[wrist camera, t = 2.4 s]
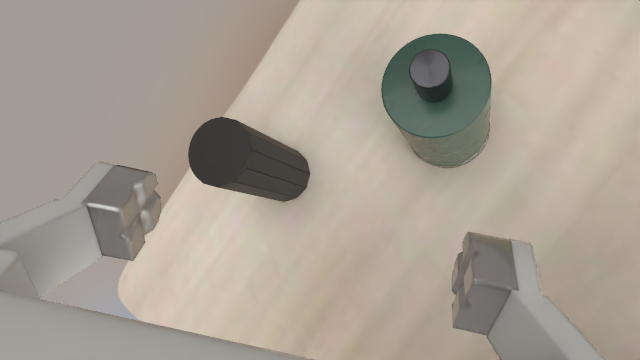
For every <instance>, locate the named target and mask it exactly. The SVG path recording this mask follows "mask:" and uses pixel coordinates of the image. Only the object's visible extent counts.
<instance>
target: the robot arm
mask: <svg viewBox="0 0 640 360" xmlns="http://www.w3.org/2000/svg"><path fill="white" fill-rule="evenodd" d="M157 185H158V182H157V178H156V174H154V173H152V172H148V171H143V170H139V169H135V168H130V167H125V166H120V165H113V164H109V163H105V162H97V163H95V164H94V165H93V166H92V167H91V168H90V169H89V170H88V171H87V172H86V174H85V175H84V176H83V177H82V178H81V179H80V180H79V181H78V182H77V183H76V184H75V186H74V187H73V188H72V189H71V190H70V191H69V192H68V194H66V196H65V197H64V198H63V199H62V200H58V199H55V200H53V201H50V202H48V203H46V204H43V205H41V206H38V207H36V208H34V209H31V210H29V211H26V212H24V213H22V214H19V215H17V216H14V217H12V218H10V219H7V220H5V221H3V222H0V360H314V359H310V358H305V357H300V356H296V355H291V354H287V353H282V352H278V351H273V350H269V349H264V348H260V347H255V346H251V345H246V344H242V343H237V342H232V341H228V340H223V339H219V338H214V337H210V336H205V335H201V334H196V333H192V332H187V331H183V330H178V329H174V328H169V327H164V326H160V325H155V324H151V323H146V322H142V321H137V320H133V319H128V318H123V317H119V316H114V315H110V314H105V313H101V312H96V311H91V310H87V309H82V308H78V307H74V306H69V305H64V304H60V303H55V302H51V301H46V300H42V299H40V298H41V297H42V296H43V295H45V294H47V293H48V292H50V291H51V290H53V289H54V288H56V287H57V286H59V285H60V284H62V283H64V282H65V281H66V280H68V279H70V278H71V277H73V276H74V275H76V274H77V273H79V272H80V271H82V270H84V269H85V268H87V267H88V266H90V265H91V264H93V263H94V262H96V261H97V260H99V259H100V258H102V255H104V256H109V257H114V258H120V259H125V260H131V261H134V259H135V258H136V256H137V255H138V253H139V251H140V250H141V248H142V247H143V245H144V244H145V239H144V235H145V234H147V233H149V232H151V231H153V229H154V228H155V226H156V224H157V223H158V220H159V217H160V214H161V198H160V196H159V195H158V194H157V193H156V191H155V190H154V189H155V188H156V186H157ZM462 243H463V252H461V253H459V254H458V255H457V258H456V261H455V264H454V269H453V273H452V291H453V293H454V294H455V295H456V296H455V299H454V301H453V304H452V321H453V328H457V329H462V330H466V331H470V332H474V333H479V334H483V335H487V338H488V340H489V341H490V343H491V345H492V346H493V348H494V350H495V351H496V353H497V355H498V356H499V358H500V360H605V359H604V358H603V356H602V355H601V354H600V353H599V352H598V351H597V350H596V349H595V348H594V346H593V345H592V344H591V343H590V342H589V341H588V340H587V339H586V338H585V337H584V335H583V334H582V333H581V332H580V331H579V330H578V329H577V328H576V327H575V325H574V324H573V323H572V322H571V321H570V320H569V319H568V318H567V317H566V315H565V314H564V313H563V312H562V311H561V310H560V309H559V308H558V307H557V306H556V304H555V303H554V302H553V301H552V300H551V299H550V298H549V297H547V296H542V291H541V286H540V281H539V276H538V271H537V266H536V261H535V256H534V251H533V246H532V245H531V243H529V242H523V241H518V240H512V239H509V240H508V239H505V238H500V237H494V236H489V235H483V234H478V233H472V232H467V234H466V235H465V237H464V240H463V242H462Z"/></svg>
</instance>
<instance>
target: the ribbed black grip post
mask: <svg viewBox="0 0 640 360" xmlns="http://www.w3.org/2000/svg"><path fill="white" fill-rule="evenodd" d="M188 155H189V163H190V167H191V169H192V171H193V173H194V174H195V176H196V177H197V178H198V179H199V180H200V181H201V182H202V183H204V184H208V185H211V186H215V187H219V188H223V189H228V190H233V191H237V192H242V193H246V194H251V195H256V196H260V197H265V198H270V199H274V200H279V201H288V200H291V199H294V198H296V197H298V196H299V195H300V194H301V193H302V192H303V191H304V189H305V188H306V187H307V183H308V179H309V176H310V172H309V168H308V164H307V161H306V159H305V158H304V157H303V156H302V155H301V154H300V153H299V152H298V151H296V150H294V149H292V148H290V147H288V146H286V145H284V144H282V143H280V142H278V141H276V140H274V139H272V138H271V137H269V136H267V135H265V134H263V133H261V132H259V131H257V130H255V129H253V128H251V127H249V126H247V125H245V124H243V123H241V122H239V121H237V120H233V119H229V118H224V117H220V118H215V119H212V120H209V121H207V122H206V123H204V124H203V125H202V126H201V127H200V128H199V129H198V130H197V131H196V132H195V134H194V136H193V138H192V140H191V142H190V147H189V154H188Z"/></svg>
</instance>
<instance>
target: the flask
mask: <svg viewBox="0 0 640 360" xmlns="http://www.w3.org/2000/svg"><path fill="white" fill-rule="evenodd" d="M381 91H382V99H383V104H384V106H385V109H386V111H387V113H388V115H389V116H390V118H391V119H392V120H393V122H394V123H395V125H396V126H397V127H398V129H399V130H400V131H401V133H402V134H403V136H404V137H405V138H406V140H407V141H408V142H409V144H410V145H411V147H412V149H413V150H414V152H415V153H416V154H417V155H418V156H419V157H420V158H421V159H422V160H423V161H425V162H427V163H428V164H430V165H433V166H436V167H441V168H454V167H458V166H461V165H464V164H466V163H468V162H470V161H471V160H473V159H474V158H475V157H476V156H478V155H479V153H480V152H481V151H482V150H483V148H484V147H485V145H486V142H487V140H488V137H489V130H490V122H489V119H490V100H491V73H490V69H489V66H488V63H487V61H486V59H485V58H484V56H483V54H482V53H481V52H480V51H479V50H478V49H477V48H476V47H475V46H474V45H473V44H471V43H470V42H468V41H467V40H465V39H463V38H460V37H457V36H454V35H449V34H432V35H426V36H423V37H420V38H418V39H415V40H413V41H411V42H410V43H408V44H406V45H405V46H404V47H402V48H401V49H400V50H399V51H398V52H397V53H396V54H395V55H394V57H393V58H392V59H391V61H390V62H389V64H388V66H387V68H386V70H385V73H384V76H383V80H382V89H381Z"/></svg>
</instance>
